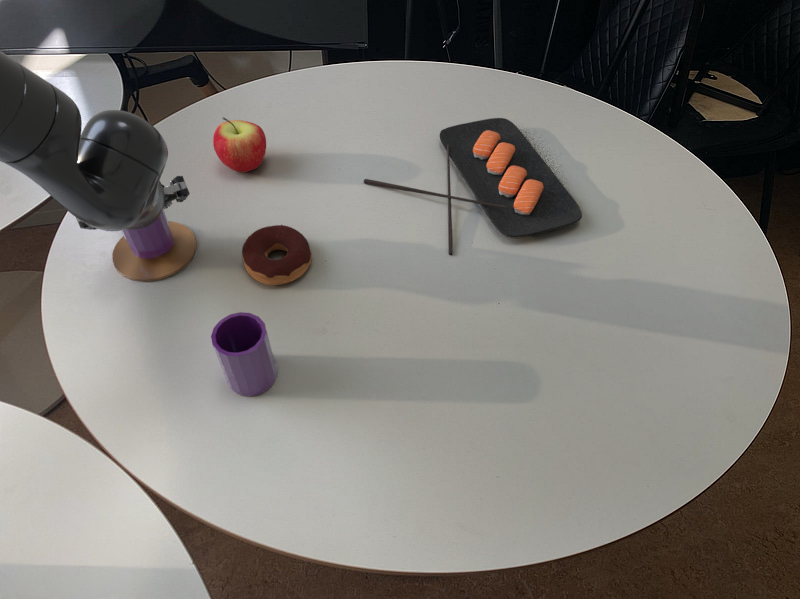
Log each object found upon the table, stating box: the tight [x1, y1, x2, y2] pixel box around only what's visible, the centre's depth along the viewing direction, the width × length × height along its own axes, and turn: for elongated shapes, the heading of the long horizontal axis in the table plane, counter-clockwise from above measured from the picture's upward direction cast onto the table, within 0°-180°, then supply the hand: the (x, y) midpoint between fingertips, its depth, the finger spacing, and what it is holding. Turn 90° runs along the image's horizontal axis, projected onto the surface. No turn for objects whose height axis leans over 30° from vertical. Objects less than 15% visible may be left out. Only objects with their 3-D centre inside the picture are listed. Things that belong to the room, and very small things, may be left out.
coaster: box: [111, 220, 198, 282], centre depth 89 cm, size 12×12×1 cm
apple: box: [212, 116, 267, 173], centre depth 98 cm, size 8×8×10 cm
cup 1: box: [121, 209, 174, 259], centre depth 85 cm, size 6×6×9 cm
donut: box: [241, 224, 313, 286], centre depth 87 cm, size 10×10×4 cm
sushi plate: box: [363, 117, 583, 256], centre depth 98 cm, size 29×30×4 cm
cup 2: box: [210, 311, 278, 397], centre depth 73 cm, size 6×6×9 cm
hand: (137, 209), depth 85 cm, fingers closed on cup 1, 6 cm apart
